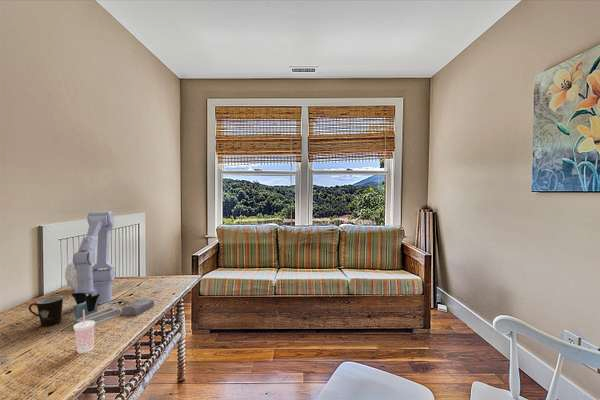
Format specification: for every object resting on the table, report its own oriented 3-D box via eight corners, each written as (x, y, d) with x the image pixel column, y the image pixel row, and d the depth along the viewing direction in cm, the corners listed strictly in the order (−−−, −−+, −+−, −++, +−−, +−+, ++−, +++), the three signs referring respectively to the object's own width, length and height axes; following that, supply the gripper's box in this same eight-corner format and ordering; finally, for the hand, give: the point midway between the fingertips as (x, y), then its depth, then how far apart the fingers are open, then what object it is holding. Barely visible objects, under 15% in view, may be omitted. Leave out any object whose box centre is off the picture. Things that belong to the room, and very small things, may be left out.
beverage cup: (91, 353, 105) (89, 312, 104) (71, 355, 104) (68, 314, 103) (99, 344, 111) (97, 305, 110) (80, 346, 110) (77, 307, 109)
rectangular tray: (73, 326, 126) (73, 319, 125) (111, 312, 139) (110, 306, 139) (83, 329, 122) (83, 322, 122) (120, 315, 136) (120, 309, 135)
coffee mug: (69, 320, 131) (68, 297, 131) (46, 329, 123) (45, 304, 123) (50, 317, 135) (49, 294, 134) (27, 325, 127) (26, 301, 126)
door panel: (75, 319, 132) (74, 305, 132) (94, 312, 139) (94, 299, 139) (77, 320, 131) (77, 306, 131) (97, 313, 139) (97, 299, 138)
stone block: (119, 318, 137) (139, 315, 135) (117, 308, 137) (136, 305, 135) (138, 309, 148) (156, 306, 146) (136, 299, 148) (154, 296, 146)
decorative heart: (71, 287, 175) (69, 257, 174) (93, 284, 180) (92, 255, 179) (62, 297, 159) (60, 264, 158) (87, 294, 163) (85, 261, 162)
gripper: (65, 279, 134) (67, 310, 135) (84, 283, 128) (85, 316, 128) (83, 274, 141) (84, 304, 141) (101, 278, 134) (103, 309, 135)
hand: (86, 309), depth 135 cm, fingers open, 7 cm apart
